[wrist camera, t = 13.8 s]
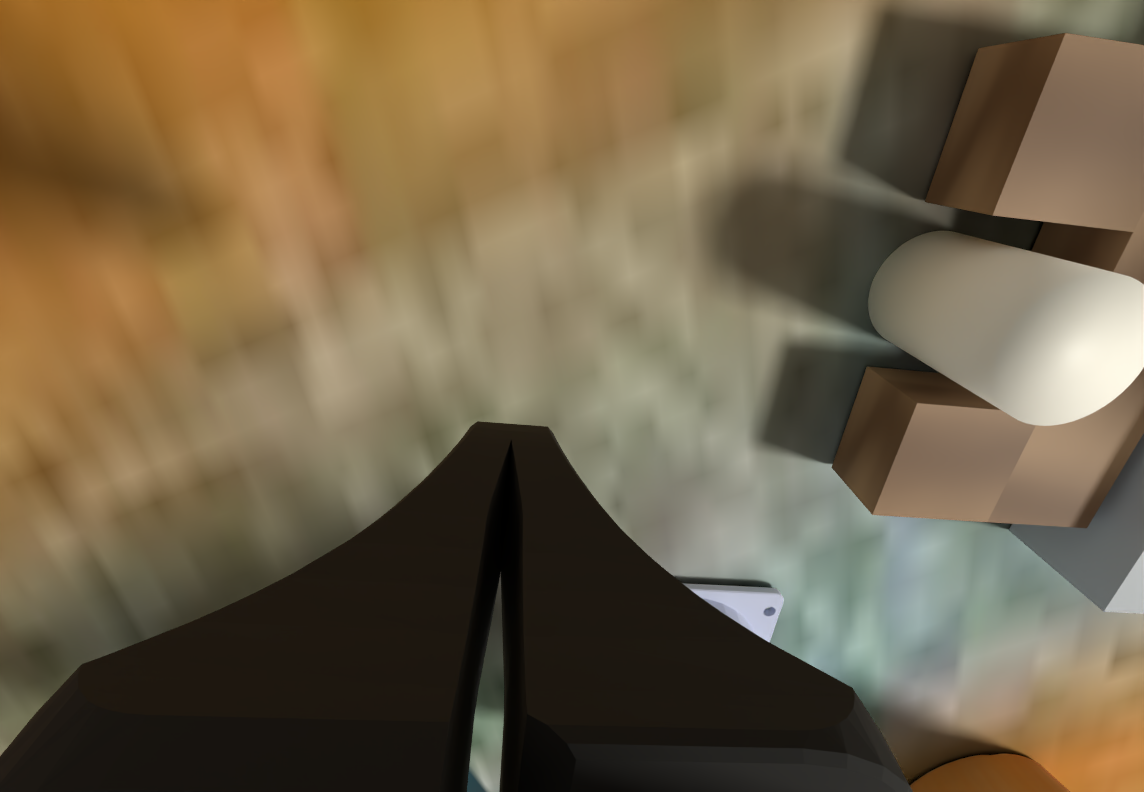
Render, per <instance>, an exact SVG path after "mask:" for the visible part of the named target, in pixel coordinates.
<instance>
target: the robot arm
mask: <svg viewBox="0 0 1144 792" xmlns="http://www.w3.org/2000/svg"><path fill="white" fill-rule="evenodd" d="M500 572H501V593H502V627H503V660H504V727H503V744H502V760H501V777H500V792H913V791H912V789H911V787H910V785H909V784H908V782H907V780H906V778H905V776H904V774H903V773H902V771H901V769H900V767H899V765H898V763H897V761H896V759H895V757H894V756H893V754H892V752H891V750H890V748H889V746H888V744H887V743H886V741H885V739H884V737H883V735H882V733H881V732H880V730H879V729H878V727H877V725H876V724H875V722H874V721H873V719H872V718H871V716H870V714H869V713H868V711H867V710H866V708H865V707H864V705H863V703H862V702H861V700H860V699H859V697H858V696H857V694H856V693H855V691H854V690H853V688H852V687H850V686H848V685H846V684H844V683H842V682H841V681H839V680H837V679H835V678H833V677H831V676H830V675H828V674H826V673H824V672H822V671H820V670H819V669H817V668H815V667H813V666H811V665H809V664H808V663H806V662H804V661H802V660H800V659H798V658H797V657H795V656H793V655H791V654H789V653H787V652H786V651H784V650H782V649H780V648H778V647H776V646H775V645H773V644H771V643H769V642H770V639H771V637H772V634H773V631H774V628H775V625H776V622H777V619H778V616H779V614H780V611H781V608H782V605H783V601H784V599H783V596H782V595H781V593H780V591H779V590H778V589H776V588H766V587H746V586H725V585H705V584H685V583H681V582H680V581H679V580H677V579H676V578H675V577H674V576H672V575H671V574H670V573H668V572H667V571H666V570H665V569H663V568H662V567H661V566H660V565H659V564H658V563H656V562H655V561H654V560H653V559H652V558H651V557H650V556H648V555H647V554H646V553H645V552H644V551H643V550H642V549H641V548H640V547H639V546H638V545H637V544H636V543H635V542H634V541H633V540H632V539H631V538H630V537H628V536H627V535H626V534H625V533H624V532H623V531H622V530H621V529H620V527H619V526H618V525H617V524H616V523H615V522H614V521H613V520H612V518H611V517H610V516H609V515H608V514H607V512H606V511H605V510H604V509H603V508H602V507H601V505H600V504H599V503H598V502H597V500H596V499H595V498H594V496H593V495H592V494H591V493H590V491H589V490H588V488H587V487H586V486H585V484H584V483H583V481H582V480H581V479H580V477H579V476H578V474H577V473H576V471H575V470H574V468H573V467H572V465H571V464H570V462H569V461H568V459H567V457H566V456H565V454H564V453H563V451H562V449H561V447H560V446H559V444H558V442H557V440H556V438H555V436H554V434H553V433H552V431H551V430H550V429H549V428H548V427H544V426H531V425H517V424H504V423H490V422H476V423H475V424H474V425H472V426H471V427H470V428H469V430H468V431H467V433H466V434H465V435H464V436H463V438H462V439H461V440H460V441H459V443H458V444H457V445H456V446H455V447H454V448H453V450H452V451H451V452H450V453H449V454H448V455H447V456H446V458H445V459H444V460H443V461H442V462H441V463H440V464H439V465H438V466H437V467H436V468H435V469H434V470H433V471H432V472H431V473H430V474H429V475H428V476H427V477H426V478H425V479H424V480H423V481H422V482H421V483H420V484H419V485H418V486H417V487H415V488H414V489H413V490H412V491H411V492H410V493H409V494H408V495H407V496H405V497H404V498H403V499H402V500H401V501H400V502H399V503H398V504H396V505H395V506H394V507H393V508H392V509H390V510H389V511H388V512H387V513H385V514H384V515H383V516H382V517H380V518H379V519H378V520H377V521H375V522H374V523H373V524H371V525H370V526H369V527H367V528H366V529H364V530H363V531H362V532H360V533H359V534H357V535H356V536H355V537H353V538H352V539H350V540H349V541H347V542H345V543H344V544H342V545H340V546H339V547H337V548H335V549H334V550H332V551H330V552H329V553H327V554H325V555H324V556H322V557H320V558H318V559H317V560H315V561H313V562H312V563H310V564H308V565H307V566H305V567H303V568H302V569H300V570H298V571H296V572H295V573H293V574H291V575H289V576H287V577H285V578H283V579H282V580H280V581H278V582H276V583H274V584H272V585H270V586H268V587H266V588H264V589H262V590H260V591H258V592H256V593H254V594H252V595H250V596H247V597H245V598H243V599H241V600H239V601H237V602H235V603H233V604H230V605H228V606H226V607H224V608H222V609H220V610H218V611H215V612H213V613H211V614H208V615H206V616H204V617H201V618H199V619H197V620H195V621H192V622H190V623H187V624H185V625H182V626H180V627H177V628H175V629H172V630H170V631H167V632H165V633H162V634H159V635H157V636H154V637H152V638H149V639H147V640H144V641H142V642H139V643H137V644H134V645H132V646H129V647H127V648H124V649H122V650H119V651H117V652H114V653H111V654H109V655H106V656H103V657H101V658H98V659H95V660H92V661H90V662H87V663H84V664H82V665H81V666H80V667H79V668H78V669H77V670H76V671H75V672H74V673H73V674H72V675H71V676H70V677H69V679H68V680H67V681H66V682H65V683H64V684H63V685H62V686H61V687H60V688H59V689H58V690H57V691H56V692H55V693H54V694H53V696H52V697H51V698H50V699H49V700H48V701H47V702H46V703H45V704H44V705H43V706H42V707H41V708H40V709H39V710H38V712H37V713H36V714H35V715H34V716H33V717H32V719H31V720H30V721H29V722H28V723H27V725H26V726H25V727H24V728H23V730H22V731H21V732H20V733H19V734H18V736H17V737H16V738H15V739H14V740H13V742H12V743H11V744H10V745H9V746H8V748H7V749H6V750H5V751H4V752H3V754H2V755H1V756H0V792H467V783H468V772H469V763H470V753H471V743H472V733H473V723H474V714H475V707H476V701H477V694H478V688H479V682H480V677H481V672H482V667H483V661H484V656H485V651H486V646H487V641H488V635H489V630H490V625H491V620H492V615H493V609H494V604H495V599H496V594H497V588H498V583H499V578H500ZM768 607H770V608H768ZM766 608H768V609H766Z"/></svg>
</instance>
